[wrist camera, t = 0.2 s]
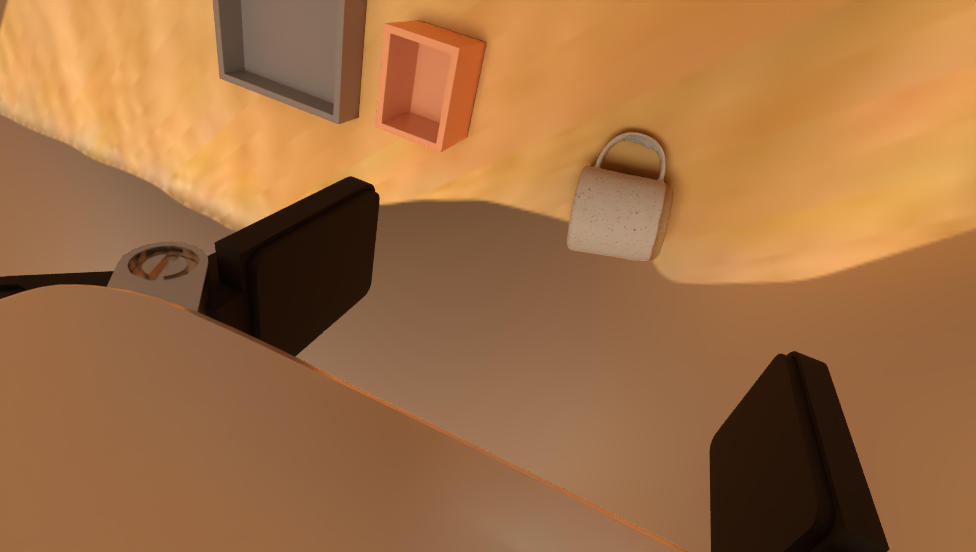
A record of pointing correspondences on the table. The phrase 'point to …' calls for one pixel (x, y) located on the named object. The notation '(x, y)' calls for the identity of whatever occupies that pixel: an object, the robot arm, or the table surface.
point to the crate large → (295, 52)
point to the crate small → (428, 83)
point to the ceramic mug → (620, 208)
